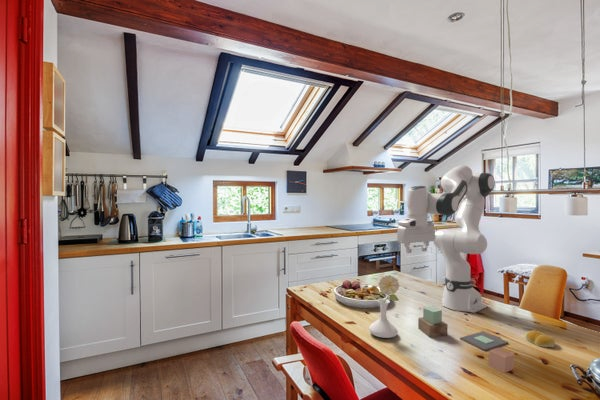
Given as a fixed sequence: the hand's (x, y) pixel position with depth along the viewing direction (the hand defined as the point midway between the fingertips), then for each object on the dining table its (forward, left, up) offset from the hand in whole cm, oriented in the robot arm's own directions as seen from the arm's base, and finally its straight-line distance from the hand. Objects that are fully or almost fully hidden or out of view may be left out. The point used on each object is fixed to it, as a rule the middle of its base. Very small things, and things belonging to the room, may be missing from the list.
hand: (416, 252), depth 138 cm
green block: (+3, +12, -26) cm, 29 cm away
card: (-9, +26, -31) cm, 41 cm away
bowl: (+6, -32, -32) cm, 46 cm away
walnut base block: (+3, +12, -31) cm, 34 cm away
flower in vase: (+23, +6, -31) cm, 39 cm away
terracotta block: (+3, +40, -31) cm, 51 cm away
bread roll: (-29, +35, -32) cm, 55 cm away
